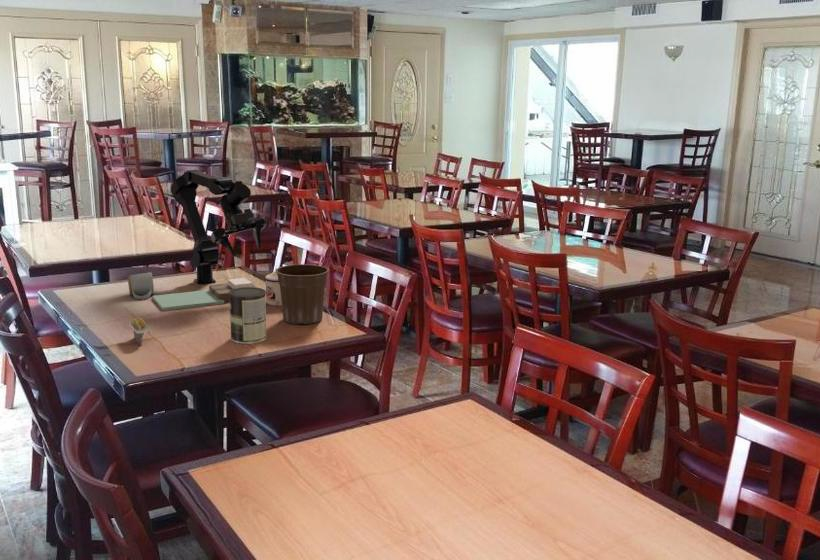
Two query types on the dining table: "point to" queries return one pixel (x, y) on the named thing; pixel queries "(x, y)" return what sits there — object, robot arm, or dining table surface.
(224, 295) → the walnut deck
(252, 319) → the coffee can
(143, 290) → the ceramic mug
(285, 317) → the plant pot
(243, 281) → the ivory tile
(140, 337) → the yellow flower bouquet
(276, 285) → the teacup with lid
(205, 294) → the sage mat
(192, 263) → the robot arm
